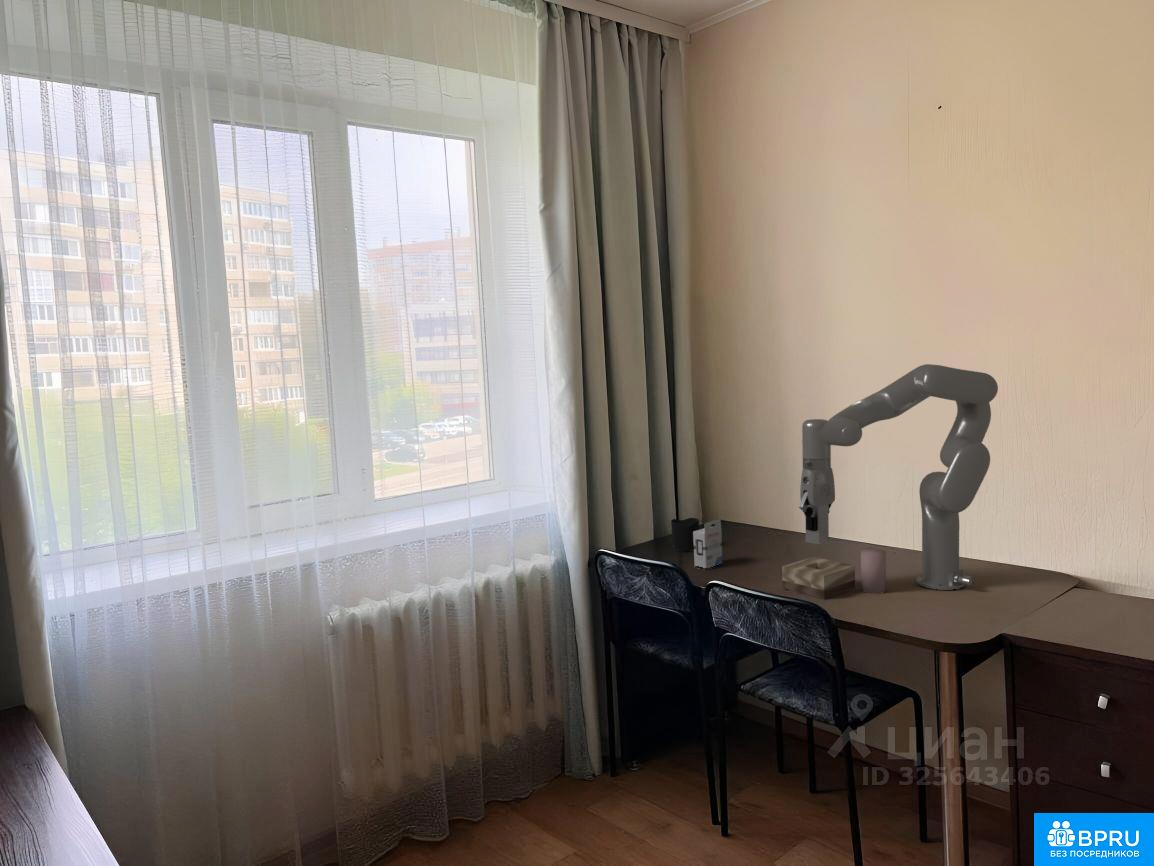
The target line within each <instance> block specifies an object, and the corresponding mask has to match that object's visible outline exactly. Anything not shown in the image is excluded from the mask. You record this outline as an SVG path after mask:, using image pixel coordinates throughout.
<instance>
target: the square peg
mask: <svg viewBox="0 0 1154 866" xmlns="http://www.w3.org/2000/svg"><path fill="white" fill-rule="evenodd" d="M809 505H810V503H809ZM809 509H810V510H811V511H812V508H811V507H809ZM804 517H805V518H806V516H805V515H804ZM815 517H817V531H810V530H806V529H805V543H810V544H814V545H821V544H825V543H828V542H829V539H830V537H829V536H830V534H829V533H830V532H829V529H830V527H829V520H830V519H829V514H828V504H827V505H823V506H819V507H816V512H815Z"/></svg>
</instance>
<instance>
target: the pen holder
mask: <svg viewBox="0 0 1154 866" xmlns="http://www.w3.org/2000/svg"><path fill="white" fill-rule="evenodd" d="M670 525H671V537H672V538H671V540H672V549H673V550H674V549H675V550H680V551H690V550H694V540H693V531H697V530H700V520H699V518H696V517H689V518H685V519H677V518H673V519H671V520H670ZM675 550H674V551H675Z"/></svg>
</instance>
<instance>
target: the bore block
mask: <svg viewBox="0 0 1154 866" xmlns="http://www.w3.org/2000/svg"><path fill="white" fill-rule="evenodd" d="M781 569H782V570H781V571H782V578H781V579H782V581H781V582H782V589H783V588H784V589H783V590H786V589H788V590H787V591H790V590H791V591H790V592H793V591H794V592H793V593H797V592H798V594H801V593H802V595H806V596H809V595H810V597H813V596H814V597H813V598H818V599H822V600H826V598H827V599H830V598H833V597H835V596H837V594H838V595H840V594H839V593H841V594H843V593H845V591H846V592H848V591H847V590H849V591H851V590H850V589H852V590H854V589H856V565H854V564H849V563H844V562H841V561H835V560H830V559H825V558H822V557H821V558H820V557H817V556H811V557H807V558H805V559H801V560H798V561H795V562H791V563H788V564H785V565H782V566H781ZM853 588H854V589H853ZM842 592H843V593H842ZM834 595H835V596H834ZM829 597H830V598H829Z"/></svg>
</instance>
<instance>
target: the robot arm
mask: <svg viewBox="0 0 1154 866" xmlns="http://www.w3.org/2000/svg"><path fill="white" fill-rule="evenodd" d="M998 392H999V386H998V382H997V381H996V379H995V378H994V377H993V376H992V375H991V374H988V373H987V372H981V371H973V370H968V369H961V368H955V367H949V366H946V365H940V364H933V363H932V364H929V363H927V364H922V365H919V366H917V367H915V368H914V369H912V370H910V371H909V372H907V373H906V374H904V375H902V376H901V377H899V378H898V379H896V380H895V381H893V382H892V383H890V384H888V385H887V386H885V387H884V388H881V389H880V390H879V391H877V392H874V393H872V394H870V395H867V396H866V397H864V398H862V399H860V400H857V401H856V402H854V403H851V404H850V405H849V406H847V407H845V408H844V409H842V410H841V411H839V412H837V413H836V414H835V415H833V416H832V417H830V418H829V419H828V420H827V419H824V418H823V419H822V418H819V419H816V418H814V419H813V418H812V419H806V420H805V421H803V422H802V427H801V428H802V429H801V431H802V433H801V434H802V435H801V436H802V441H801V442H802V446H801V447H802V472H801V476H800V477H801V478H800V479H801V480H800V491H799V493H800V503H799V505H798V508H799V509H800V510H801V511H802V512H803V514H804V517H805V516H806V517H805V531H806V530H810V531H817V517H815V512H816V507H819V506H823V505H827V504H828V515H829V514H830V509H831V507H832V505H833V503H834V502H835V499H836V488H835V487H836V486H835V477H834V471H833V467H832V466H831V465H832V456H831V455H832V453H831V452H832V450H831V446H839V447H852V446H855V445H857V444H858V443H859V442H860V441H861V439H862V437H863V429H864V428H866V427H868V426H869V425H872V424H874V423H876V422H881V421H885V420H891V419H893V418H897V417H899V416H901V415H903V414H905V413H906V412H907V411H909V410H910V409H912V408H913V407H915V406H917V405H918V404H920V403H922V402H923V401H925V400H926V399H928V398H931V397H934V398H938V399H943V400H947V401H948V400H949V401H954V402H955V403H956V409H957V411H956V416H955V420H954V422H953V425H952V426H951V428H950V430H949V432H948V435H947V437H946V439H945V440H944V443H943V445H942V446H941V450H940V451H939V459H940V462H941V463H942V464H943V465H944V467H946V468H947V470H946V471H945V472H944V471H932V472H930V473H928V474H926V475H925V476H924V477H923V478H922V480H921V482H920V484H919V490H918V491H919V503H920V506H921V507H920V508H921V574H920V575H918V576H917V577H916V578H915V581H916V584H917V585H919V586H920V587H922V586H923V588H925V587H926V589H929V588H930V590H936V589H937V590H939V591H954V590H953V589H956V590H961V589H963V588H964V587H966V585H968V586H971V585H972V583H973V577H972V576H971V575H965V574H964V570H963V569H962V568H960V513H961V512H964V511H965V510H967V509H968V508H969V506H970V505H971V504H972V503H973V501H974V499H975V498H976V495H977V493H978V492H979V489H980V487H981V485H982V483H983V482H984V479H985V477H986V475H987V473H988V471H989V467H990V464H991V453H990V451H989V449H988V447H987V446H986V445H985V444H983V441H984V440H985V436H986V434H987V431H988V429H989V427H990V424H991V418H992V409H991V402H992V401H993V400H994V399H995V398H996V396H997V394H998ZM809 503H810V505H809ZM809 507H811V508H812V511H811V510H810V509H809ZM962 587H963V588H962ZM960 588H961V589H960ZM937 590H936V591H937Z"/></svg>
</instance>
